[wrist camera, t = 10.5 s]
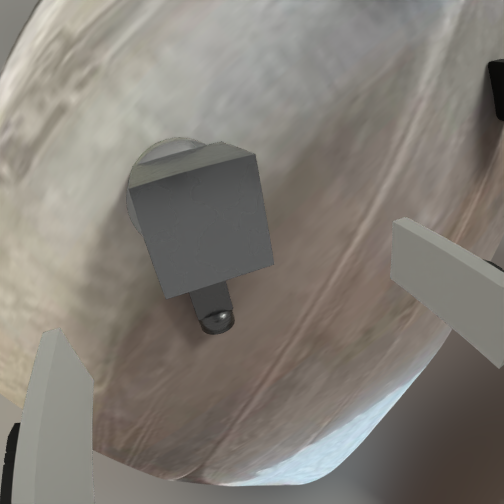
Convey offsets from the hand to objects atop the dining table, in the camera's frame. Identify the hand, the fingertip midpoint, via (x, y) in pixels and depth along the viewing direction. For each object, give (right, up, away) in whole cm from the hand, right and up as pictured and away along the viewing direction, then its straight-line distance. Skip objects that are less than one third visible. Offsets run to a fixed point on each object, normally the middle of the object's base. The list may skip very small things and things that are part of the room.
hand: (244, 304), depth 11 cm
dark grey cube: (-5, +6, +14) cm, 16 cm away
